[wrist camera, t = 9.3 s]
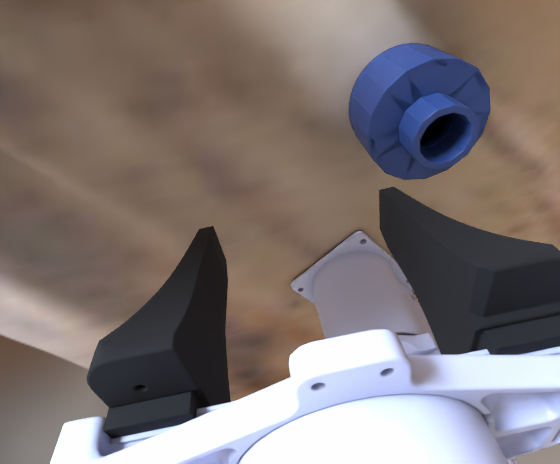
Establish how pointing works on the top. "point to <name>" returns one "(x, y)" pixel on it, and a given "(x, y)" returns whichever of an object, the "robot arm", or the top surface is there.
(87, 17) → the top surface
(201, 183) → the top surface
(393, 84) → the blue ribbed hub
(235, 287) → the top surface
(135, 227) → the top surface
